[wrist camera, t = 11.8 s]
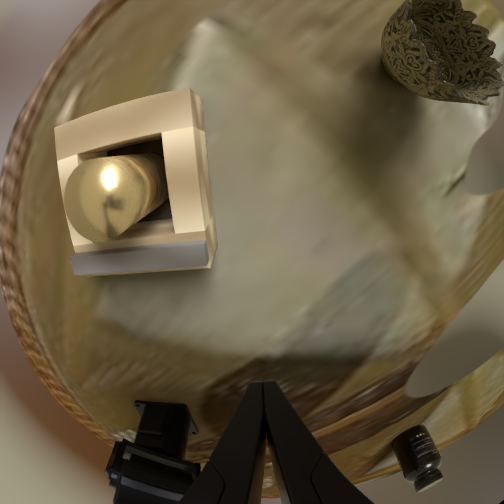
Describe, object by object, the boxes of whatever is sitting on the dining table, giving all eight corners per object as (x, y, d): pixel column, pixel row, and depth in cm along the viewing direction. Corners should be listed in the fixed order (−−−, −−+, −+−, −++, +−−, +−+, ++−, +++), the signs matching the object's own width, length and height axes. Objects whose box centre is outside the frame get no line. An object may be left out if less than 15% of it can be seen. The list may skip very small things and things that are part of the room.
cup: (389, 125, 16) (463, 121, 8) (335, 39, 14) (383, -11, 6) (448, 95, 15) (517, 88, 7) (402, 19, 12) (459, -15, 5)
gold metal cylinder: (176, 205, 18) (139, 238, 11) (126, 212, 18) (73, 246, 12) (169, 148, 17) (125, 150, 10) (117, 159, 17) (58, 169, 10)
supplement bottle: (416, 438, 33) (436, 485, 22) (386, 448, 33) (403, 500, 22) (431, 419, 31) (456, 469, 20) (399, 430, 31) (421, 487, 20)
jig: (217, 244, 19) (208, 274, 15) (107, 254, 19) (76, 282, 15) (202, 100, 15) (186, 84, 11) (86, 128, 16) (46, 127, 11)
